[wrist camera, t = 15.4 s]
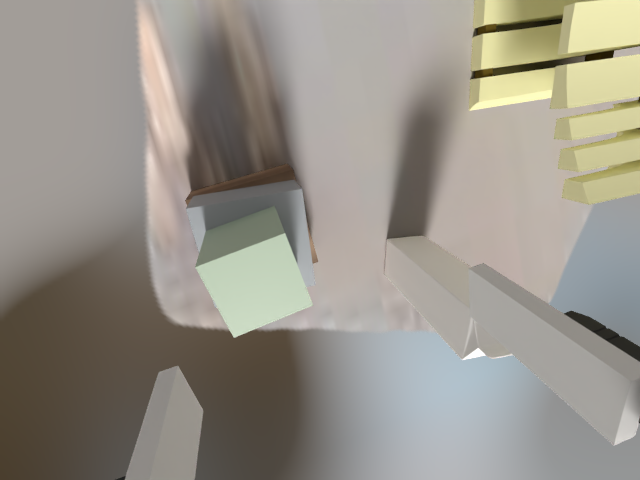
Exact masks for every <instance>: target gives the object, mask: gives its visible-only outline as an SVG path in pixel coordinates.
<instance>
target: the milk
mask: <svg viewBox="0 0 640 480" xmlns="http://www.w3.org/2000/svg"><path fill="white" fill-rule="evenodd" d="M468 268H471V266H469V265H468V264H466V263H465V262H463V261H462V260H460V259H459V258H457V257H455V256H454V255H452V254H451V253H449V252H448V251H446V250H445V249H443V248H442V247H440V246H439V245H437V244H435V243H434V242H432V241H431V240H429V239H428V238H426V237H425V236H412V237H402V238H392V239H387V243H386V257H385V270H384V275H385V276H386V277H387V278H388V279H389V280H390V282H391V283H392V284H393V285H394V286H395V287H396V288H397V289H398V290H399V291H400V293H401V294H402V295H403V296H404V297H405V298H406V299H407V300H408V301H409V302H410V304H411V305H412V306H413V307H414V308H415V309H416V310H417V311H418V312H419V313H420V314H421V316H422V317H423V318H424V319H425V320H426V321H427V322H428V323H429V324H430V325H431V327H432V328H433V329H434V330H435V331H436V332H437V333H438V334H439V335H440V336H441V338H442V339H443V340H444V341H445V342H446V343H447V344H448V345H449V346H450V347H451V349H452V350H453V351H454V352H455V353H456V354H457V355H458V356H459V357H460V358H461V359H462V360H464V359H469V358H474V357H479V356H485V355H486V356H488V357H489V358H492V359H495V358H500V357H505V356H510V355H513V354H512V353H510V352H509V351H508V350H507V349H506V348H505V347H504V346H503V345H502V344H500V343H499V342H498V341H497V340H496V339H495V338H494V337H493V336H492V335H490V334H489V333H488V332H487V331H486V330H485V329H484V328H483V327H482V326H480V325H479V324H478V323H477V322H476V321H475V320H474V319H473V318H472V317H470V304H469V269H468Z"/></svg>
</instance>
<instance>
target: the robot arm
mask: <svg viewBox="0 0 640 480" xmlns="http://www.w3.org/2000/svg"><path fill="white" fill-rule="evenodd" d="M468 269H469V304H470V317H472V318H473V319H474V320H475V321H476V322H477V323H478V324H479V325H480V326H482V327H483V328H484V329H485V330H486V331H487V332H488V333H489V334H490V335H492V336H493V337H494V338H495V339H496V340H497V341H498V342H499V343H500V344H502V345H503V346H504V347H505V348H506V349H507V350H508V351H509V352H510V353H512V354H513V355H514V356H515V357H516V358H517V359H518V360H519V361H520V362H522V363H523V364H524V365H525V366H526V367H527V368H528V369H529V370H530V371H531V372H533V373H534V374H535V375H536V376H537V377H539V379H540V380H542V381H543V382H544V383H545V384H546V385H547V386H548V387H549V388H550V389H552V390H553V391H554V392H555V393H556V394H557V395H558V396H559V397H560V398H562V399H563V400H564V401H565V402H566V403H567V404H568V405H569V406H570V407H571V408H573V409H574V410H575V411H576V412H577V413H578V414H579V415H580V416H581V417H583V418H584V419H585V420H586V421H587V422H588V423H589V424H590V425H591V426H593V427H594V428H595V429H596V430H597V431H598V432H599V433H600V434H601V435H603V436H604V437H605V438H606V439H607V440H608V441H609V442H610V443H612V444H613V445H616V444H619V443H621V442H623V441H625V440H628V439H630V438H632V437H635V434H636V432H637V428H638V425H639V423H640V347H639V346H638V345H636V344H634V343H633V342H631V341H629V340H628V339H626V338H624V337H620V336H619V335H618V334H617V333H616V332H614V331H612V330H610V329H607V328H606V327H605V326H604V325H602V324H601V323H599V322H597V321H596V320H594V319H592V318H590V317H588V316H585V315H582V314H579V313H576V312H574V311H569V312H567V313H564V314H563V313H562V312H560V311H558V310H557V309H555V308H554V307H552V306H551V305H549V304H547V303H546V302H544V301H543V300H541V299H539V298H538V297H536V296H535V295H533V294H532V293H530V292H528V291H527V290H525V289H524V288H522V287H520V286H519V285H517V284H516V283H514V282H513V281H511V280H509V279H508V278H506V277H505V276H503V275H501V274H500V273H498V272H497V271H495V270H494V269H492V268H490V267H489V266H487V265H486V264H484V263H483V264H480V265H477V266H474V267H471V268H468ZM202 416H203V409H202V408H201V406H200V404H199V402H198V401H197V399H196V397H195V395H194V394H193V392H192V390H191V388H190V386H189V385H188V383H187V381H186V379H185V378H184V376H183V374H182V372H181V370H180V369H179V367H178V366H176V367H173V368H170V369H167V370H164V371H161V372H159V373H158V376H157V379H156V383H155V386H154V389H153V392H152V395H151V398H150V401H149V405H148V408H147V411H146V414H145V418H144V421H143V424H142V427H141V430H140V433H139V436H138V440H137V443H136V446H135V449H134V452H133V455H132V458H131V462H130V465H129V468H128V471H127V474H126V476H125V477H122V478H119V479H117V480H194V478H195V471H196V462H197V454H198V448H199V440H200V432H201V424H202Z"/></svg>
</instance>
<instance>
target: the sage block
mask: <svg viewBox="0 0 640 480" xmlns="http://www.w3.org/2000/svg"><path fill="white" fill-rule="evenodd" d="M195 268H196V269H197V271H198V273H199V275H200V277H201V279H202V280H203V282H204V284H205V286H206V288H207V290H208V291H209V293H210V295H211V297H212V299H213V300H214V302H215V304H216V306H217V308H218V310H219V311H220V313H221V315H222V317H223V319H224V321H225V322H226V324H227V326H228V328H229V330H230V331H231V333H232V335H233V337H237V336H239V335H242V334H244V333H246V332H249V331H251V330H254V329H256V328H259V327H261V326H264V325H266V324H269V323H271V322H274V321H276V320H278V319H281V318H283V317H286V316H288V315H291V314H293V313H296V312H298V311H301V310H303V309H305V308H308V307H310V306H313V304H312V301H311V299H310V296H309V293H308V291H307V288H306V286H305V283H304V281H303V278H302V275H301V273H300V270H299V268H298V265H297V262H296V260H295V257H294V255H293V252H292V249H291V247H290V244H289V242H288V239H287V237H286V234H285V231H284V229H283V226H282V224H281V221H280V219H279V216H278V213H277V211H276V208H275V206H272V207H270V208H267V209H264V210H261V211H259V212H256V213H253V214H251V215H248V216H245V217H243V218H240V219H237V220H234V221H232V222H229V223H226V224H224V225H221V226H218V227H216V228H213V229H210V230H207V231H206V232H205V236H204V239H203V242H202V246H201V249H200V253H199V256H198V259H197V263H196V266H195Z"/></svg>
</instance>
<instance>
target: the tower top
mask: <svg viewBox="0 0 640 480" xmlns="http://www.w3.org/2000/svg"><path fill="white" fill-rule="evenodd" d="M272 206H275V208H276V211H277V213H278V216H279V219H280V221H281V224H282V226H283V229H284V231H285V234H286V237H287V239H288V242H289V244H290V247H291V249H292V252H293V255H294V257H295V260H296V262H297V265H298V268H299V270H300V273H301V275H302V278H303V281H304V283H305V286H306V287H309V286H313V285H316V284H315V277H314V270H313V263H312V256H311V249H310V242H309V234H308V227H307V220H306V213H305V206H304V199H303V192H302V188H301V187H300V186H299V185H298V183H297V182H296V181H295V180H288V181H282V182H276V183H270V184H264V185H258V186H252V187H246V188H240V189H233V190H227V191H221V192H215V193H209V194H203V195H197V196H193V197H192V199H191V201H190V202H189V204H188V206H187V208H186V211H187V214H188V218H189V221H190V225H191V228H192V231H193V235H194V238H195V242H196V245H197V248H198V252H199V253H200V249H201V246H202V242H203V239H204V236H205V232H206V231H207V230H210V229H213V228H216V227H218V226H221V225H224V224H226V223H229V222H232V221H234V220H237V219H240V218H243V217H245V216H248V215H251V214H253V213H256V212H259V211H261V210H264V209H267V208H270V207H272ZM213 303H214V306H215V308H216V307H217V306H216V304H215V302H214V300H213Z"/></svg>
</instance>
